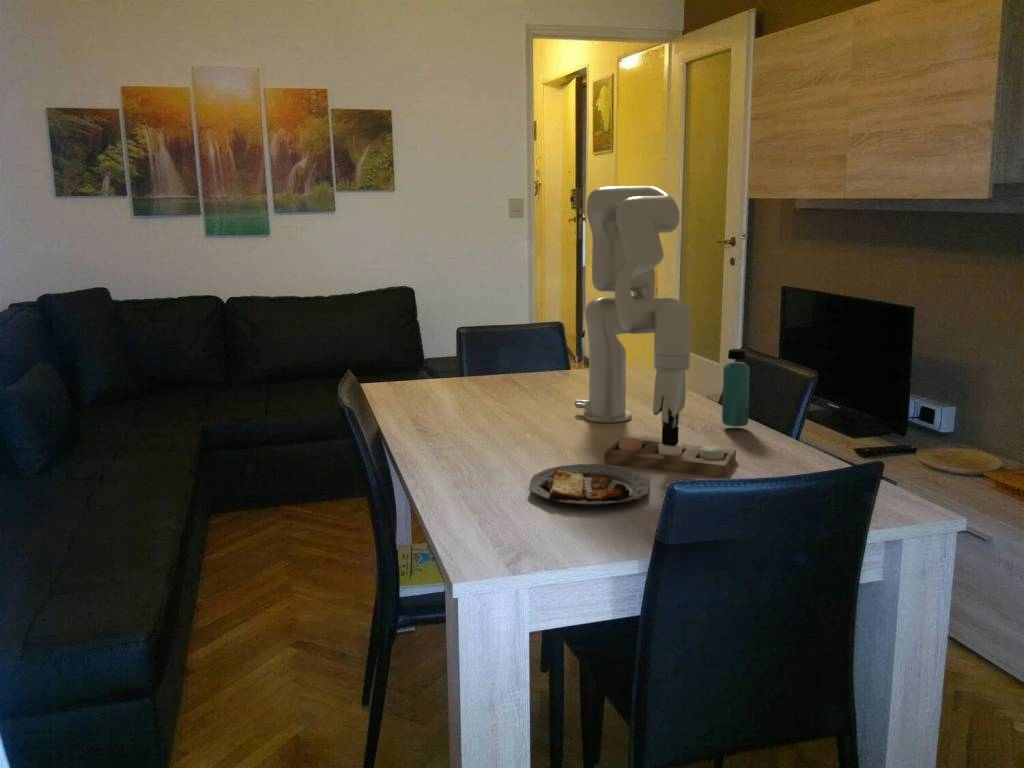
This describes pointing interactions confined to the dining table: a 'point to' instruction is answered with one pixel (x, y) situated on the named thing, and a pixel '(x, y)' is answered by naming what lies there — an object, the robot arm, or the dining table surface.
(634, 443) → the terracotta button
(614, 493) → the food plate
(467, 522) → the dining table surface
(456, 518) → the dining table surface
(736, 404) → the beverage bottle
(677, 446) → the cream button
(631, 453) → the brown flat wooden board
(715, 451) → the sage button
